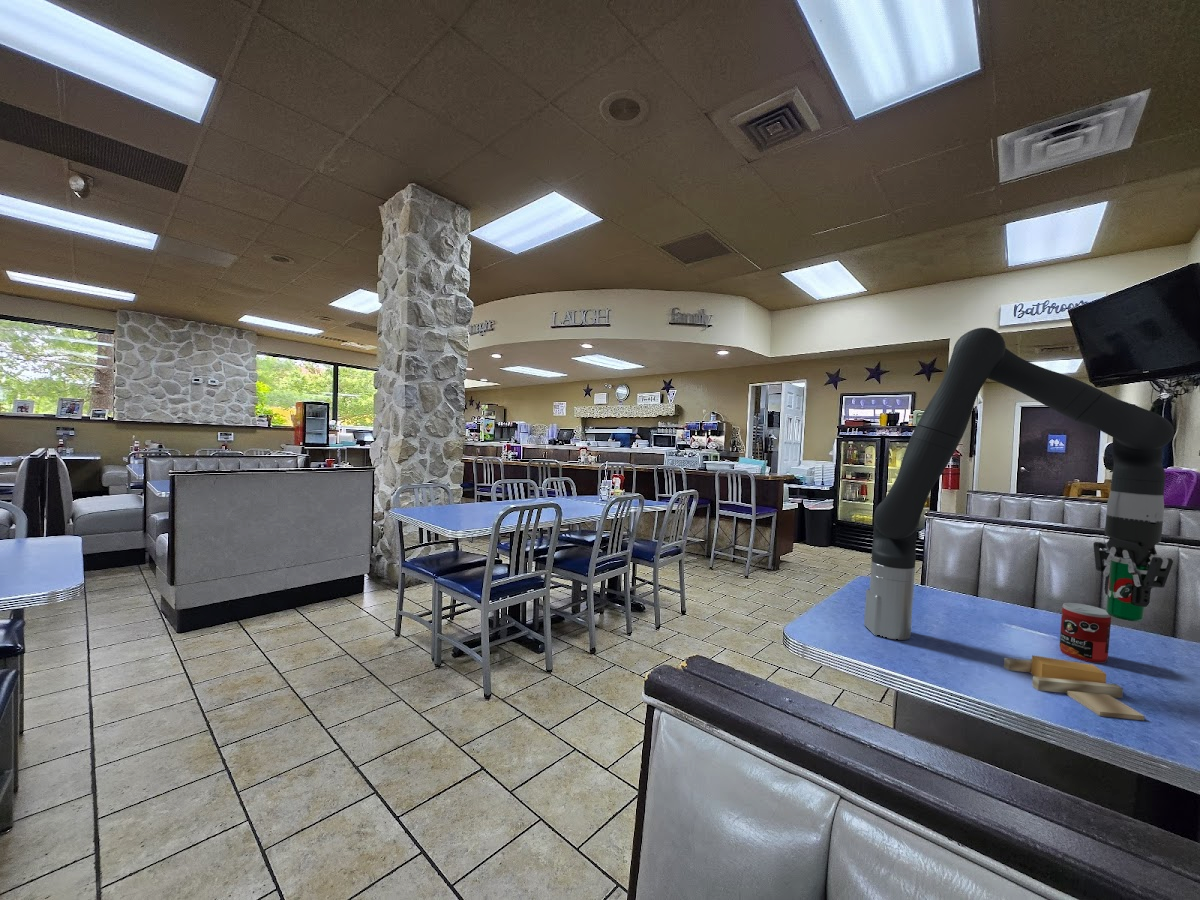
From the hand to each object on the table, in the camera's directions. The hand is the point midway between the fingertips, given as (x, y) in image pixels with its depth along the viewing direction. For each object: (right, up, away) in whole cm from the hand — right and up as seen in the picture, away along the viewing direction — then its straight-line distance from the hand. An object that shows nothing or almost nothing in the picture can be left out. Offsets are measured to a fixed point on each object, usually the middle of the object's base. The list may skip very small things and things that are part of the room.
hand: (1125, 600), depth 96 cm
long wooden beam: (-10, -17, +2) cm, 20 cm away
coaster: (-12, -17, -7) cm, 22 cm away
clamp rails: (-11, -17, +2) cm, 21 cm away
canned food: (+6, -18, +15) cm, 24 cm away
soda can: (0, -4, 0) cm, 4 cm away
